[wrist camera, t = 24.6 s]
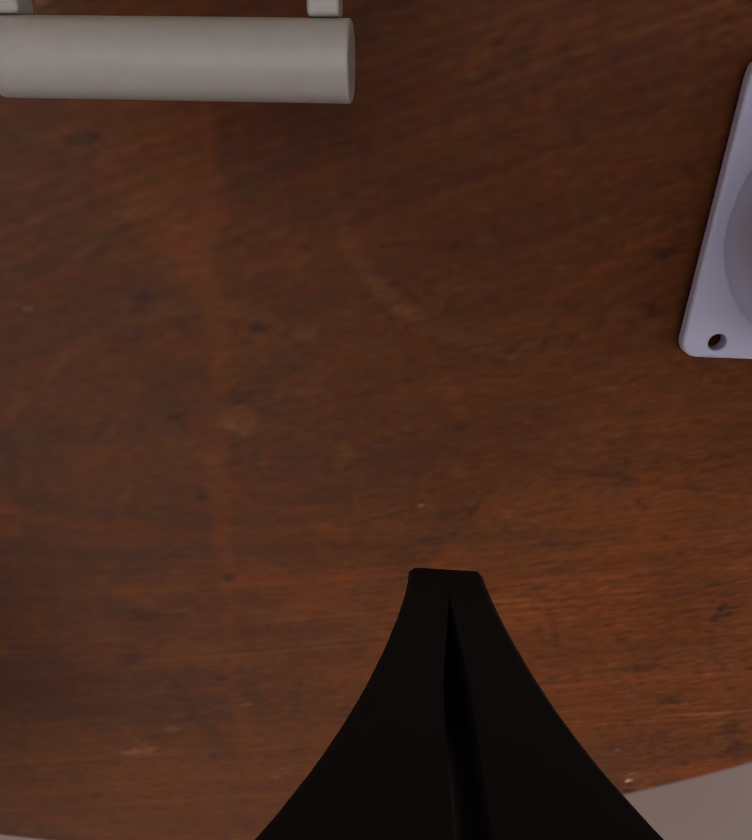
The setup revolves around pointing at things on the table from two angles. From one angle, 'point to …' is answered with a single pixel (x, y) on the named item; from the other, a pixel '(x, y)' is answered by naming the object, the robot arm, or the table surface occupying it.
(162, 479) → the table surface
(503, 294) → the table surface
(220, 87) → the drawer
